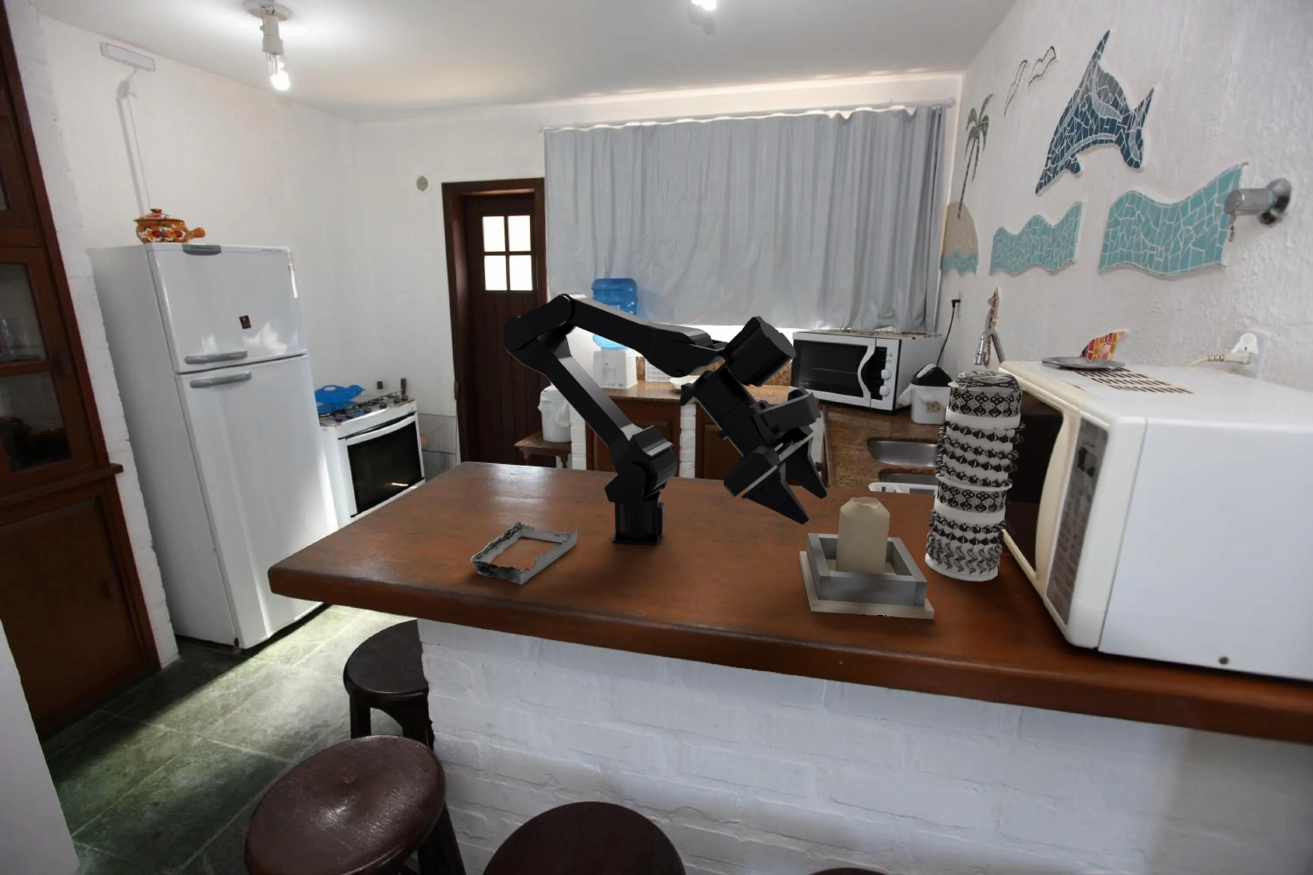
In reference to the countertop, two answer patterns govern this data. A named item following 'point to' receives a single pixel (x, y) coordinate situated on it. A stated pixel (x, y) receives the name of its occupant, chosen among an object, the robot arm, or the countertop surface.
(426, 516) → the countertop surface
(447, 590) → the countertop surface
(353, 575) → the countertop surface
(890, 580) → the square tray
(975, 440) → the decorative candle
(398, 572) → the countertop surface
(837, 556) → the candle
